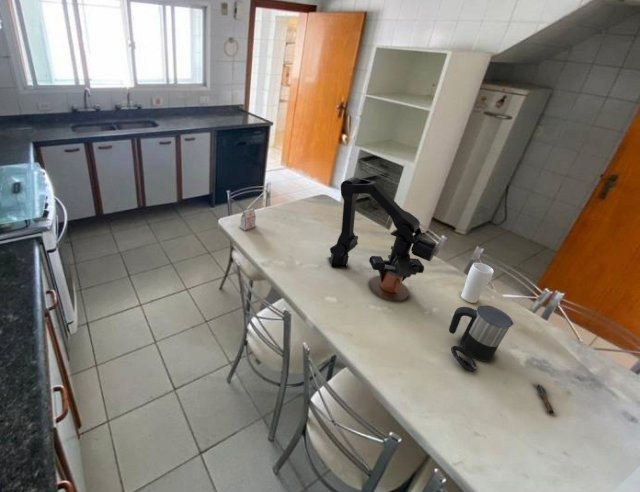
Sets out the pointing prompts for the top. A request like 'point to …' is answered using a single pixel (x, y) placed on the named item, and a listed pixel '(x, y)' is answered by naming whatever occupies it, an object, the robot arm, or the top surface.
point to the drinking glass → (476, 282)
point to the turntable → (388, 295)
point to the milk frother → (479, 333)
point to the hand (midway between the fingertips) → (390, 281)
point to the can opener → (545, 398)
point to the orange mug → (391, 280)
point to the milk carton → (248, 219)
